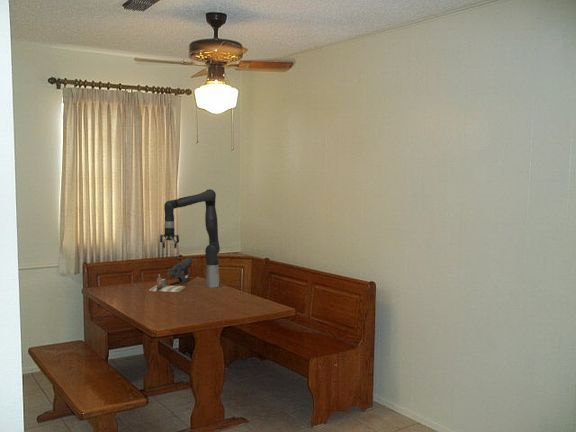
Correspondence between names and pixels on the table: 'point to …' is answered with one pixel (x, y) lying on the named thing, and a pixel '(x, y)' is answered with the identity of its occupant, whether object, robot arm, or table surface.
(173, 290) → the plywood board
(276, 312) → the table surface
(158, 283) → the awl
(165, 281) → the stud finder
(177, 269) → the gun
